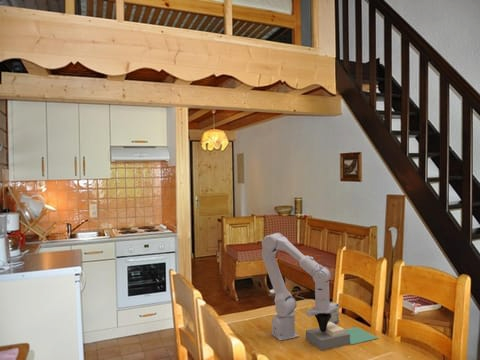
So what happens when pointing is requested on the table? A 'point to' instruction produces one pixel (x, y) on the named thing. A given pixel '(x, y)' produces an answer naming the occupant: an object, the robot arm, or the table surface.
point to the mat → (359, 335)
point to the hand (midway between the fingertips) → (322, 330)
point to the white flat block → (334, 329)
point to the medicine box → (334, 314)
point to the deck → (326, 339)
